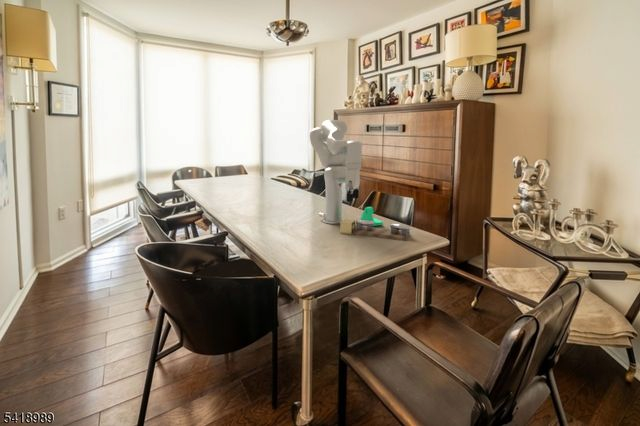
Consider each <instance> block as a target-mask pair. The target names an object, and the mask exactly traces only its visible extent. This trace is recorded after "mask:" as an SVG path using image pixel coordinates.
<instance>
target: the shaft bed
mask: <svg viewBox="0 0 640 426" xmlns="http://www.w3.org/2000/svg"><path fill="white" fill-rule="evenodd" d="M401 232H402V230H399V232H398V233H397V234H392V233H391V228H381V227H375V226H373V229H372V231H367V226H362V229H361V230H356V229H355V231H354V233H353V234H354V235H361V236H362V235H363V236H368V237H376V238H383V239H384V238H385V239H391V240H399V241H406V240H407V239H408V238H409V236H410V234H411V233H410V232H411V231H409V234H408V235H407V236H403V235H401Z"/></svg>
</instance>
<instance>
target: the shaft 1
mask: <svg viewBox="0 0 640 426" xmlns="http://www.w3.org/2000/svg"><path fill="white" fill-rule="evenodd" d="M355 226H356V227H355V230H361V229H362V226H366V227H367V231H372V229H373V227H375V226H374V221H366V220H361V219H356V220H355Z"/></svg>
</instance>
